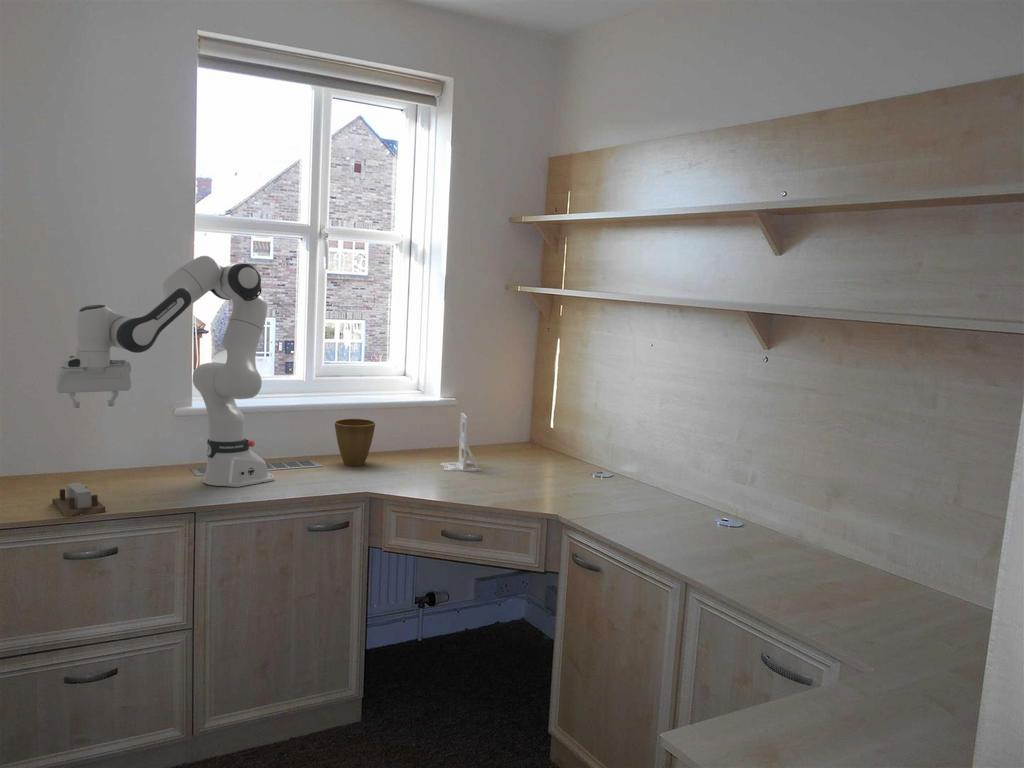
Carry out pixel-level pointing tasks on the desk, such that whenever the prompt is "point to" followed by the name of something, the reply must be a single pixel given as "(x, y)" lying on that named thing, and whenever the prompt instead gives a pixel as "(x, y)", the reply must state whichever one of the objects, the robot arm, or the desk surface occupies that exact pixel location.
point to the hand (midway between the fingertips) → (93, 406)
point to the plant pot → (354, 439)
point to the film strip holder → (462, 444)
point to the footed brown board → (69, 505)
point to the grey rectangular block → (79, 495)
